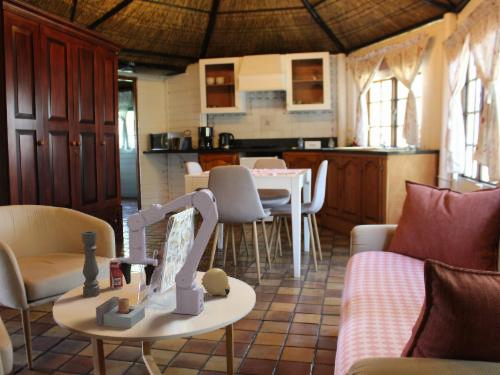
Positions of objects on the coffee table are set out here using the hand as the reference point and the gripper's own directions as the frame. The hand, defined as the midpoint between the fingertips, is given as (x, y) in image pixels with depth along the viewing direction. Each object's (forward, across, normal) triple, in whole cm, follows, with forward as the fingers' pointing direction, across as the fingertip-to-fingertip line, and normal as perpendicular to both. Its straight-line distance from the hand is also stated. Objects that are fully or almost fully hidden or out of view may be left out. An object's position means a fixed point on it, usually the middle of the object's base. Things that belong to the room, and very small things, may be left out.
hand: (138, 284), depth 176 cm
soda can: (+10, +21, -23) cm, 33 cm away
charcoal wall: (+9, +6, +11) cm, 16 cm away
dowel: (+9, 0, +12) cm, 15 cm away
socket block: (+10, 0, +11) cm, 15 cm away
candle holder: (+10, +26, -12) cm, 30 cm away
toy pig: (+10, -22, -23) cm, 33 cm away
